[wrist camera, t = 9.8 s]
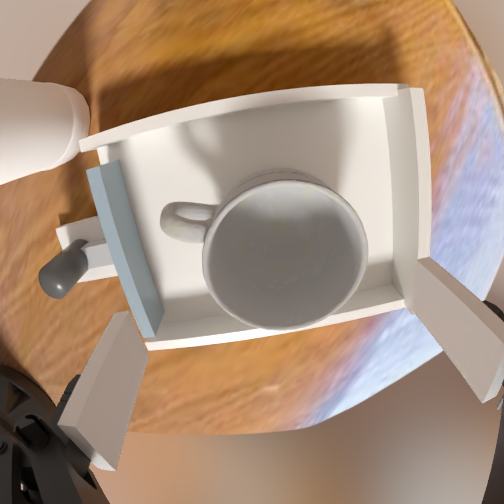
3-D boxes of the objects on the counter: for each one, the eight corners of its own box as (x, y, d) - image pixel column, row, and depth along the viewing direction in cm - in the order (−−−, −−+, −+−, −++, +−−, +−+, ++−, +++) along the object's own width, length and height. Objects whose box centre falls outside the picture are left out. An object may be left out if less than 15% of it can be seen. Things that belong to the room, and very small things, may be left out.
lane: (103, 332, 32) (84, 366, 26) (42, 159, 24) (5, 170, 19) (397, 285, 31) (422, 316, 25) (387, 87, 23) (421, 81, 17)
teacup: (360, 204, 26) (400, 236, 18) (295, 299, 29) (308, 355, 22) (218, 119, 23) (203, 117, 16) (160, 232, 27) (130, 273, 19)
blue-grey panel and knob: (97, 319, 30) (75, 355, 24) (48, 183, 24) (10, 199, 18) (164, 311, 29) (150, 351, 24) (119, 159, 24) (87, 170, 18)
